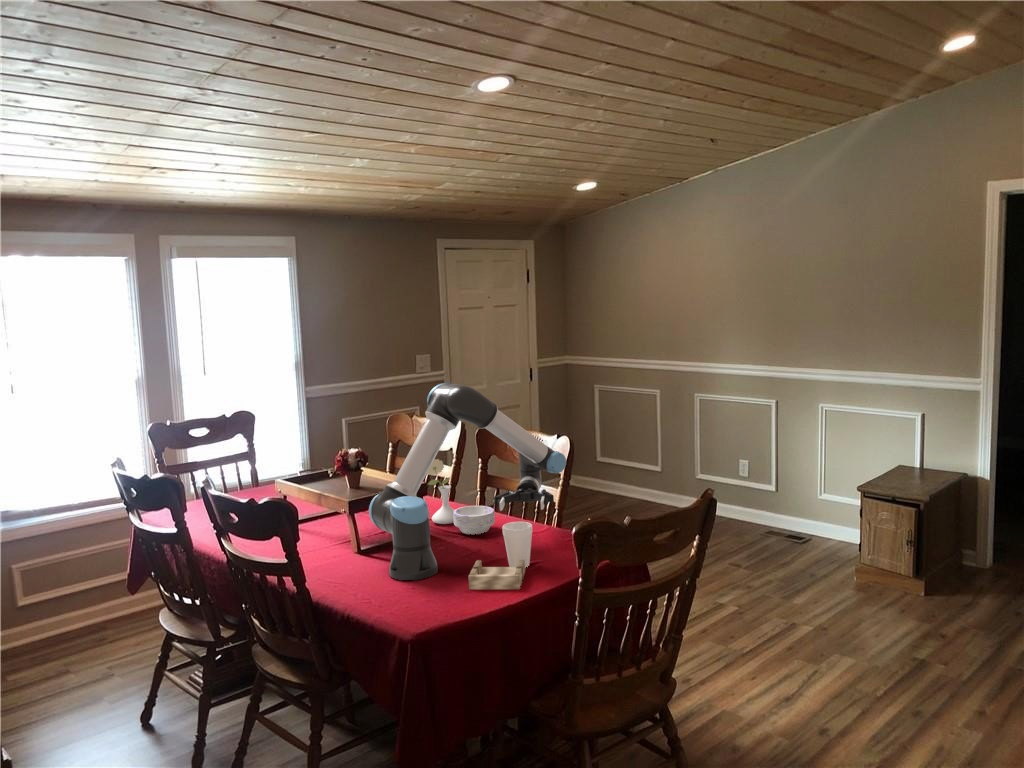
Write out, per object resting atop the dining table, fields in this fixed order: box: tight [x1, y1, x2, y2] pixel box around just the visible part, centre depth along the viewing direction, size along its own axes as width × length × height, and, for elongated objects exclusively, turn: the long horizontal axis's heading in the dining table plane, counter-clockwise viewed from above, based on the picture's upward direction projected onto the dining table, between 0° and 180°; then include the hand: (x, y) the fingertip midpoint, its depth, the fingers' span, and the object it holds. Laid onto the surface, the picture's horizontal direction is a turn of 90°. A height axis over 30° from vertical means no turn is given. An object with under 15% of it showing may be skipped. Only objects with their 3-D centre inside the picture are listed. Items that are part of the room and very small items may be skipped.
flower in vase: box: [426, 458, 455, 525], centre depth 307 cm, size 13×11×25 cm
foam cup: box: [501, 521, 533, 569], centre depth 253 cm, size 10×9×13 cm
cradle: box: [467, 559, 526, 590], centre depth 242 cm, size 16×15×4 cm
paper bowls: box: [453, 505, 496, 536], centre depth 294 cm, size 15×15×8 cm
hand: (521, 506), depth 262 cm, fingers open, 13 cm apart
